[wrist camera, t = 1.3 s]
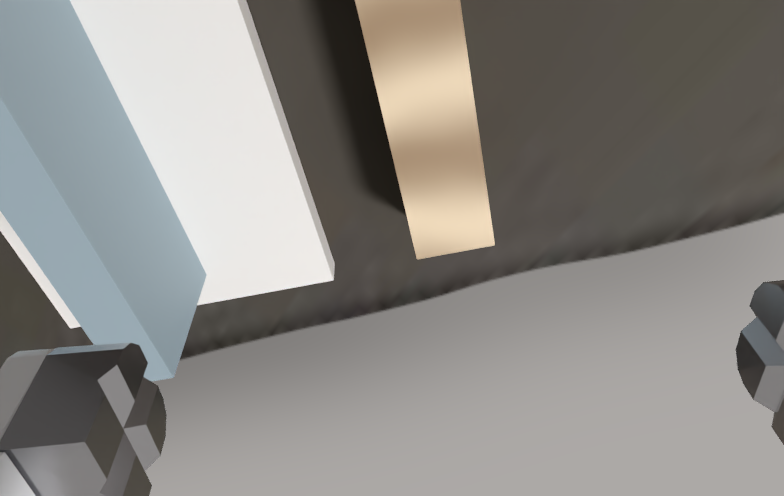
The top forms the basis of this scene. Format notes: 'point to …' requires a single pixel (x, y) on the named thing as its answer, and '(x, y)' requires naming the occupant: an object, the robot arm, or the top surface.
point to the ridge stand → (149, 166)
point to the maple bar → (430, 120)
